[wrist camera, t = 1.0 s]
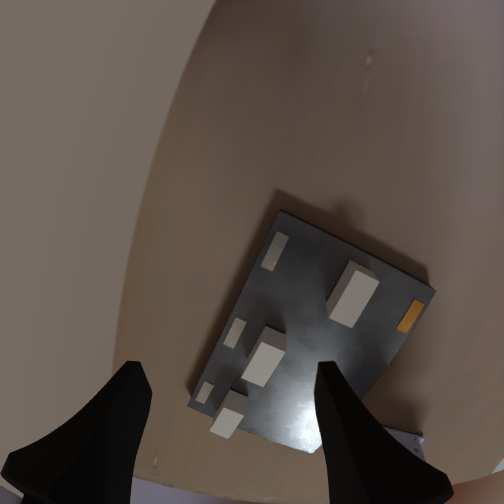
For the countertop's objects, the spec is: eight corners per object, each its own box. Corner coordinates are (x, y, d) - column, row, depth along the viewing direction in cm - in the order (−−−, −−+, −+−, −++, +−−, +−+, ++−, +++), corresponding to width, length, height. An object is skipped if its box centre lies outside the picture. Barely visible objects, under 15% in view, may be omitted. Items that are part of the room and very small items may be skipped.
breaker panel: (429, 285, 24) (436, 291, 22) (312, 444, 30) (312, 453, 28) (280, 208, 24) (279, 210, 23) (191, 397, 30) (186, 406, 29)
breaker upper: (248, 397, 27) (244, 415, 25) (233, 420, 28) (228, 438, 26) (229, 389, 27) (223, 407, 25) (215, 413, 28) (209, 430, 26)
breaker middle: (286, 335, 25) (285, 352, 22) (266, 369, 26) (263, 387, 24) (265, 325, 25) (261, 341, 23) (246, 360, 26) (241, 377, 24)
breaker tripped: (371, 270, 23) (379, 281, 20) (346, 313, 24) (351, 328, 21) (349, 259, 23) (356, 270, 20) (325, 303, 24) (328, 317, 21)
